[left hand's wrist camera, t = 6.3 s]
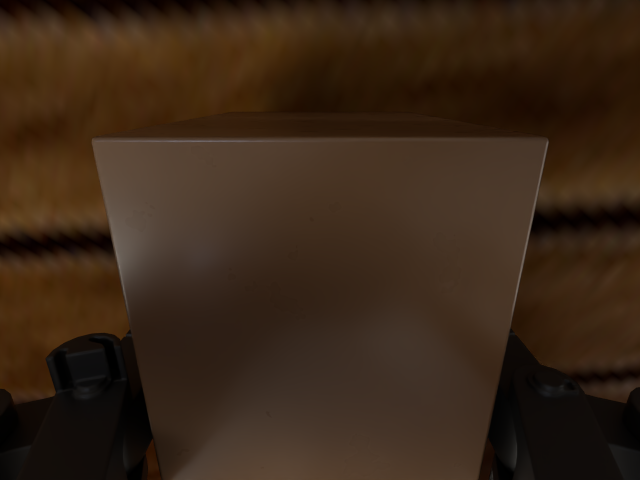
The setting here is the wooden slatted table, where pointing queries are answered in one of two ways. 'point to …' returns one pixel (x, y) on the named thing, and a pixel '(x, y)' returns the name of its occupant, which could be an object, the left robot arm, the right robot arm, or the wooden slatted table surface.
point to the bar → (320, 288)
